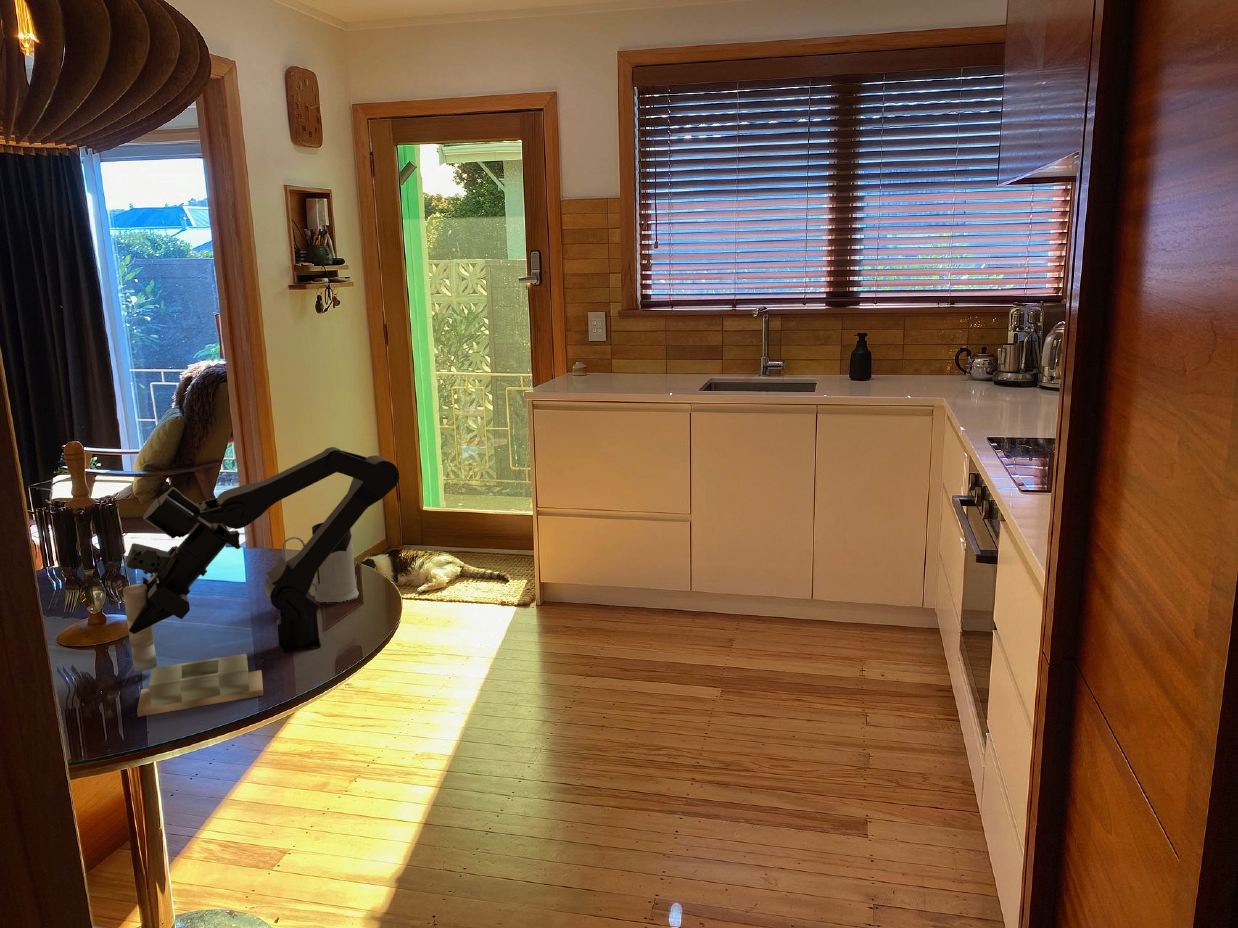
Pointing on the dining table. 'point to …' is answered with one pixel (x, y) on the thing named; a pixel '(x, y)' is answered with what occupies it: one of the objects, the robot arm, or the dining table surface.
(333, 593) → the glass holder
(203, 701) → the checkered slab
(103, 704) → the dining table surface
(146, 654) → the beige bar
